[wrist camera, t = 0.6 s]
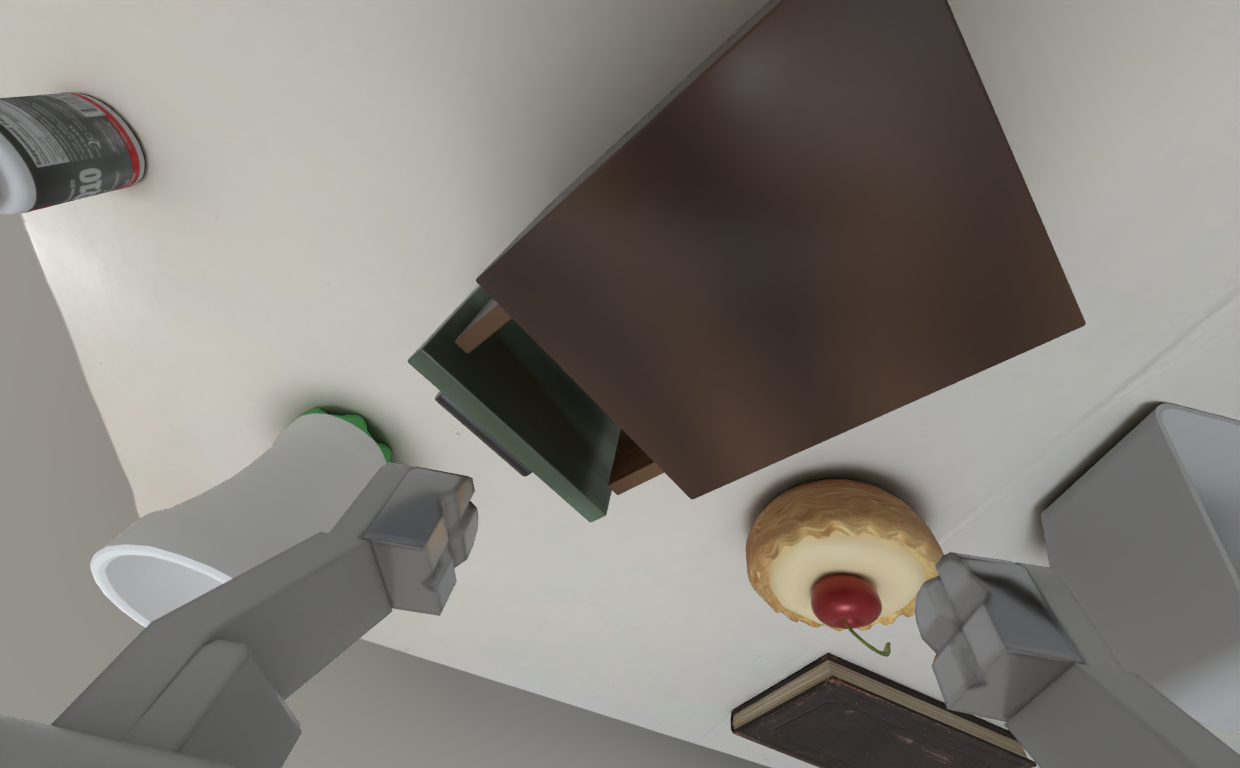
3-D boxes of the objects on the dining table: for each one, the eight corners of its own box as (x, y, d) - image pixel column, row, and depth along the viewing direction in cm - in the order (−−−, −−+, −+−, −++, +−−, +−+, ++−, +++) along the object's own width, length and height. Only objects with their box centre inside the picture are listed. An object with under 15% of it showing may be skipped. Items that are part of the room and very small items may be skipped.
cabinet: (696, 384, 31) (691, 500, 23) (544, 209, 26) (474, 280, 18) (964, 231, 24) (1087, 325, 16) (823, -49, 19) (901, -110, 11)
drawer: (567, 456, 35) (536, 549, 29) (430, 328, 31) (357, 404, 24) (818, 312, 26) (853, 399, 20) (677, 106, 22) (664, 133, 16)
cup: (426, 503, 42) (317, 681, 30) (301, 481, 42) (148, 646, 31) (404, 395, 35) (254, 570, 24) (256, 372, 36) (42, 529, 24)
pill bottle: (117, 198, 30) (-60, 245, 23) (42, 115, 27) (-179, 139, 21) (165, 166, 28) (-10, 206, 21) (90, 75, 26) (-132, 88, 19)
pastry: (814, 434, 32) (845, 550, 25) (961, 508, 34) (1031, 638, 26) (713, 534, 39) (714, 649, 31) (839, 592, 40) (868, 713, 33)
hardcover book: (828, 653, 45) (833, 679, 43) (1024, 738, 49) (1037, 766, 47) (729, 711, 54) (730, 735, 52) (900, 780, 58) (907, 805, 56)
